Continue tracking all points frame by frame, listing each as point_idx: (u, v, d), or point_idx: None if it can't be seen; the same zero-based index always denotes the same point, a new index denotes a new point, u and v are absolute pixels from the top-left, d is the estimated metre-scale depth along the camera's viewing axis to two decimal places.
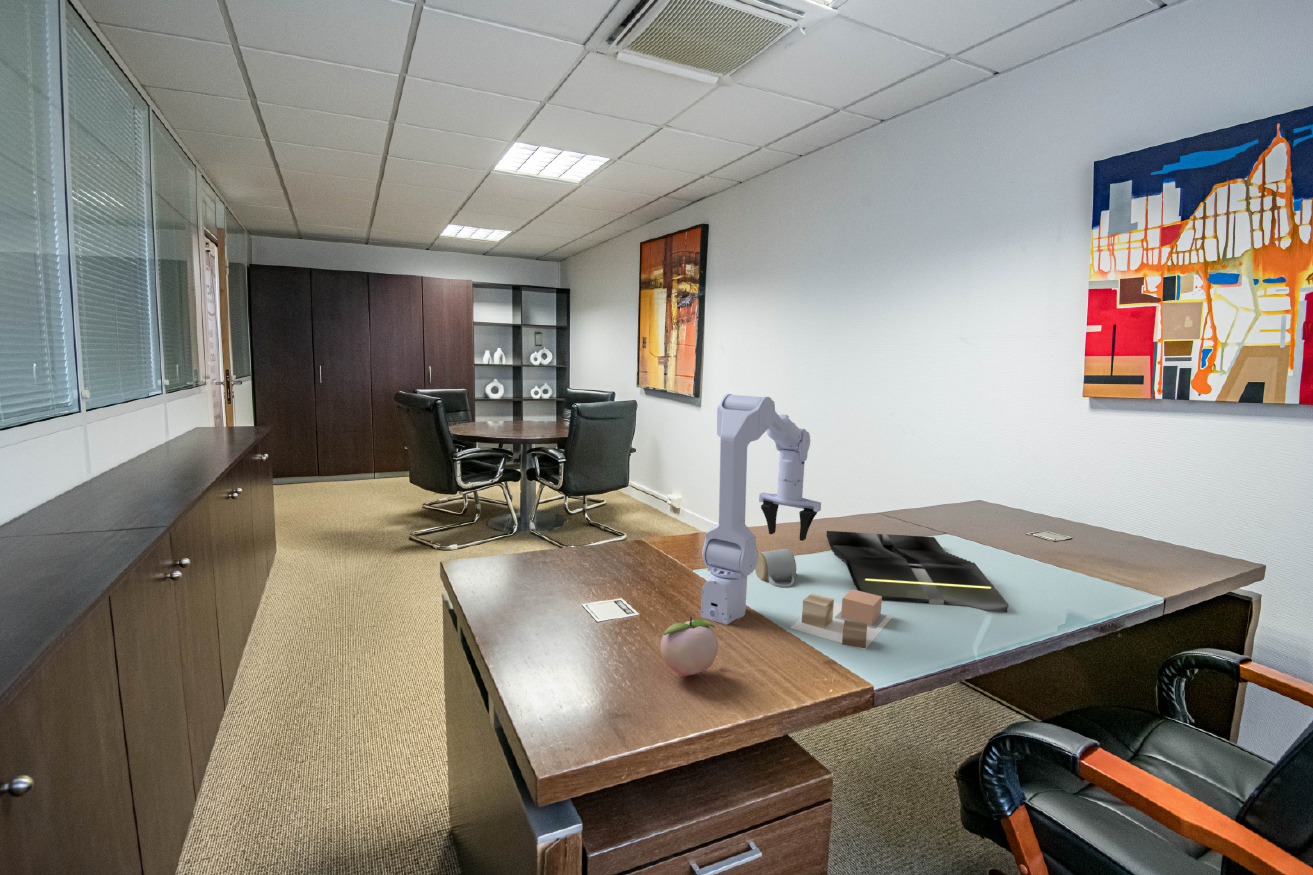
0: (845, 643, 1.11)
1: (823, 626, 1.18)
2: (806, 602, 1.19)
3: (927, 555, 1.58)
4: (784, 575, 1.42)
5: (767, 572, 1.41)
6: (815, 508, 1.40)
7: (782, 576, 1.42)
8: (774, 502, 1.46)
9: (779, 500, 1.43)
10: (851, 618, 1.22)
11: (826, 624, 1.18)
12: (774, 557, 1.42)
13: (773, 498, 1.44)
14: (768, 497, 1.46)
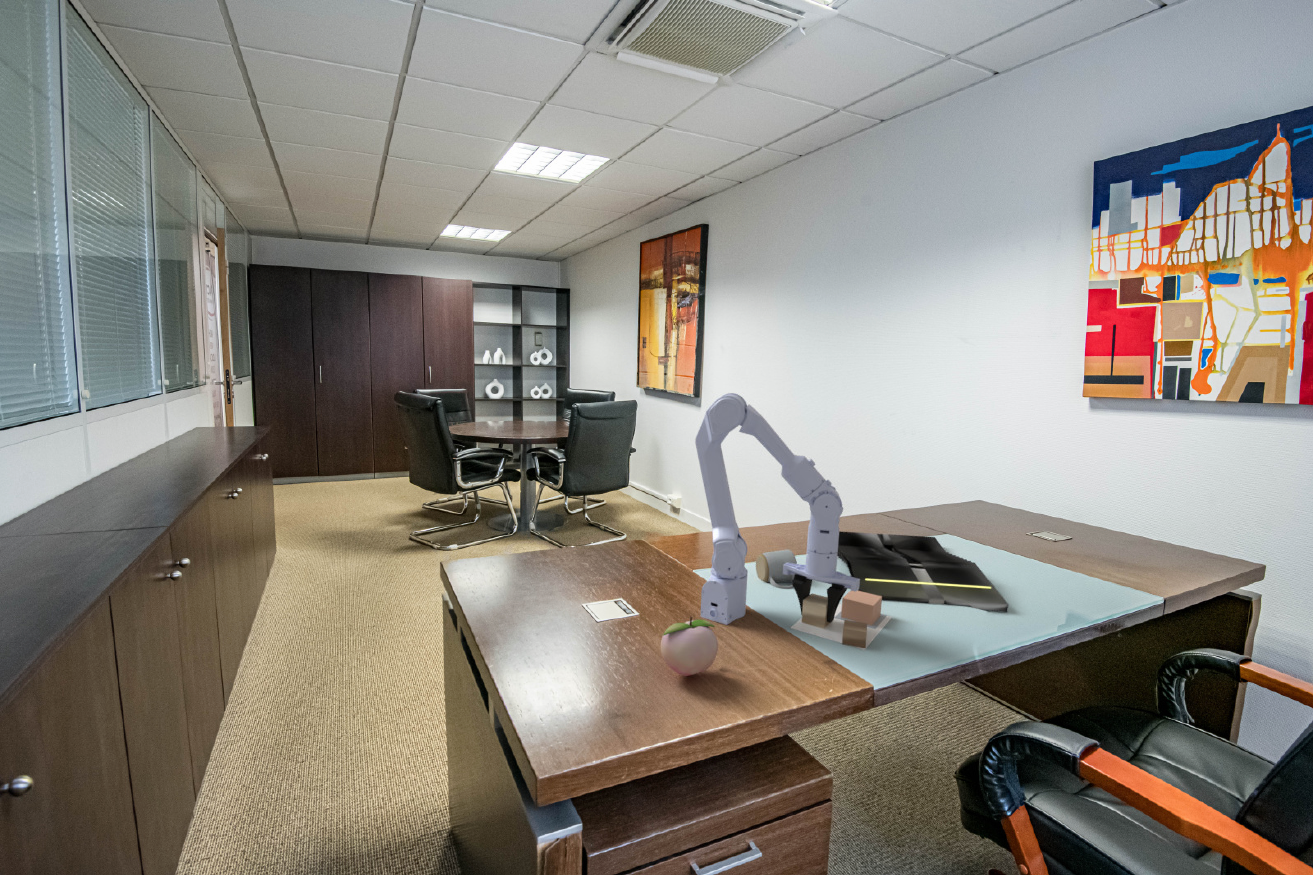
0: (845, 643, 1.11)
1: (823, 626, 1.18)
2: (806, 602, 1.19)
3: (927, 555, 1.58)
4: (785, 576, 1.41)
5: (768, 573, 1.40)
6: (853, 587, 1.15)
7: (783, 577, 1.41)
8: (802, 575, 1.22)
9: (808, 575, 1.18)
10: (851, 618, 1.22)
11: (826, 624, 1.18)
12: (775, 558, 1.41)
13: (801, 572, 1.20)
14: (794, 570, 1.21)
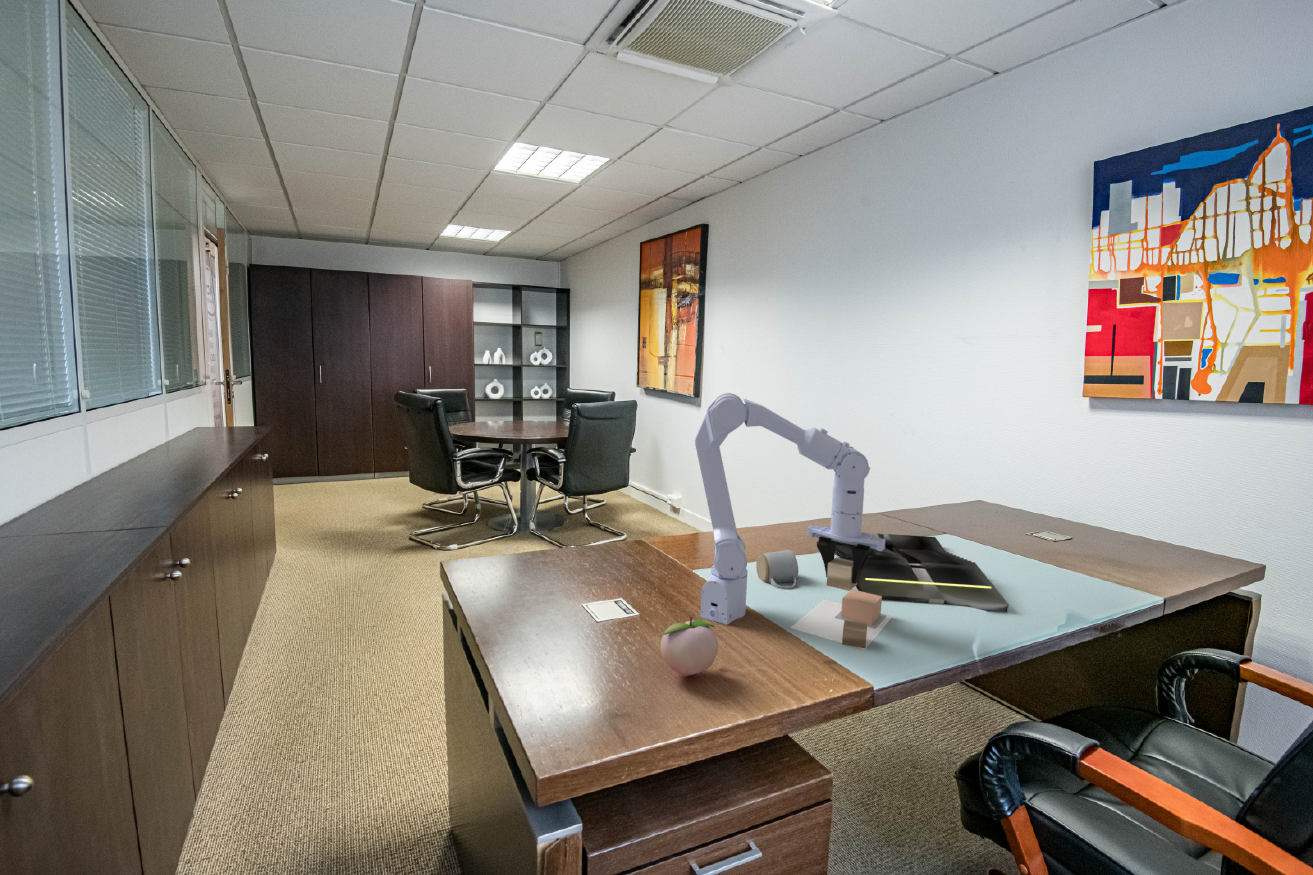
0: (845, 643, 1.11)
1: (848, 588, 1.18)
2: (831, 565, 1.20)
3: (928, 555, 1.58)
4: (786, 577, 1.41)
5: (768, 573, 1.40)
6: (878, 547, 1.16)
7: (784, 578, 1.41)
8: (826, 538, 1.22)
9: (833, 536, 1.19)
10: (851, 618, 1.22)
11: (851, 587, 1.19)
12: (776, 559, 1.41)
13: (826, 533, 1.20)
14: (819, 532, 1.21)
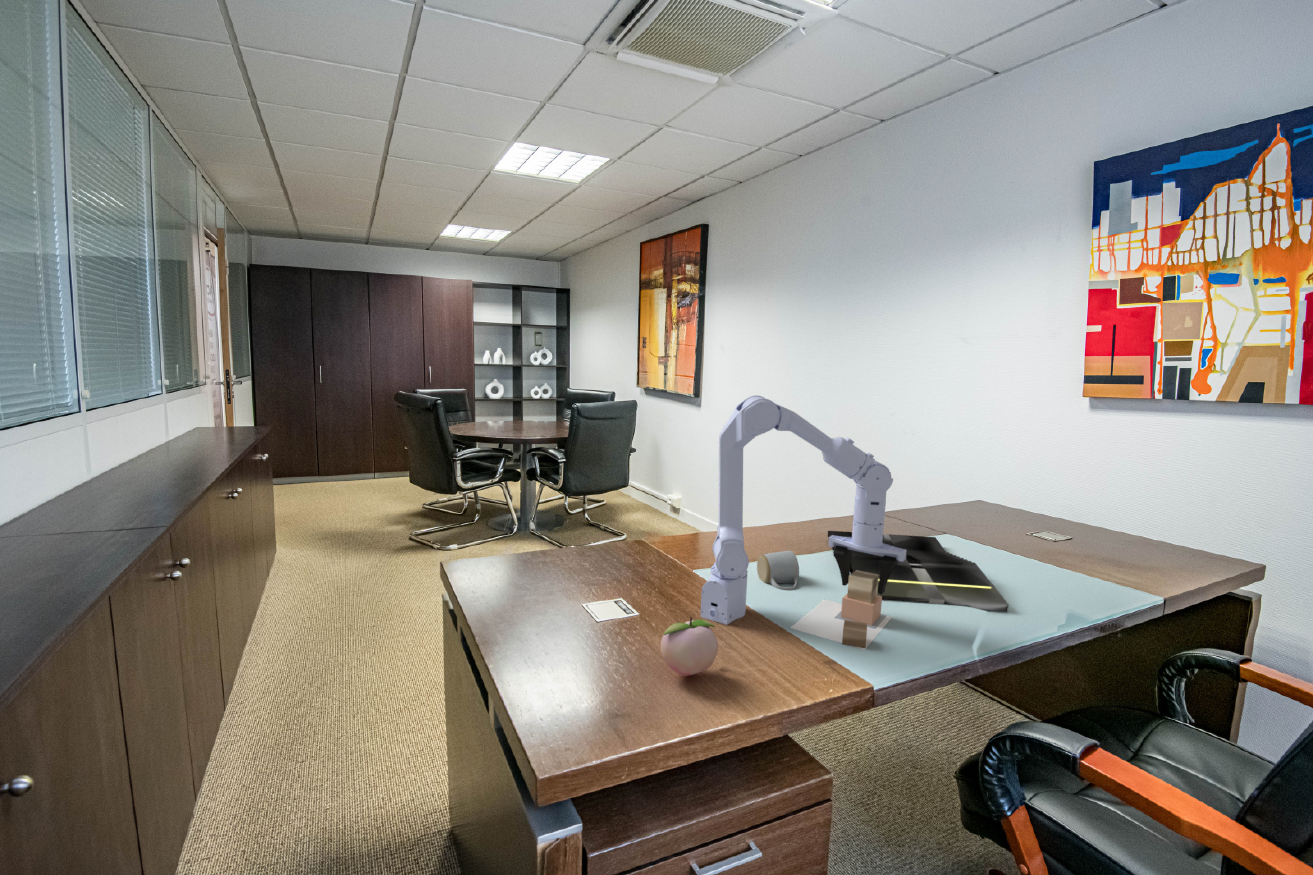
0: (845, 643, 1.11)
1: (869, 601, 1.20)
2: (852, 577, 1.22)
3: (928, 555, 1.58)
4: (787, 577, 1.40)
5: (769, 574, 1.39)
6: (900, 557, 1.18)
7: (785, 578, 1.40)
8: (847, 547, 1.24)
9: (855, 546, 1.21)
10: (851, 618, 1.22)
11: (871, 599, 1.21)
12: (777, 559, 1.40)
13: (847, 543, 1.22)
14: (840, 542, 1.23)
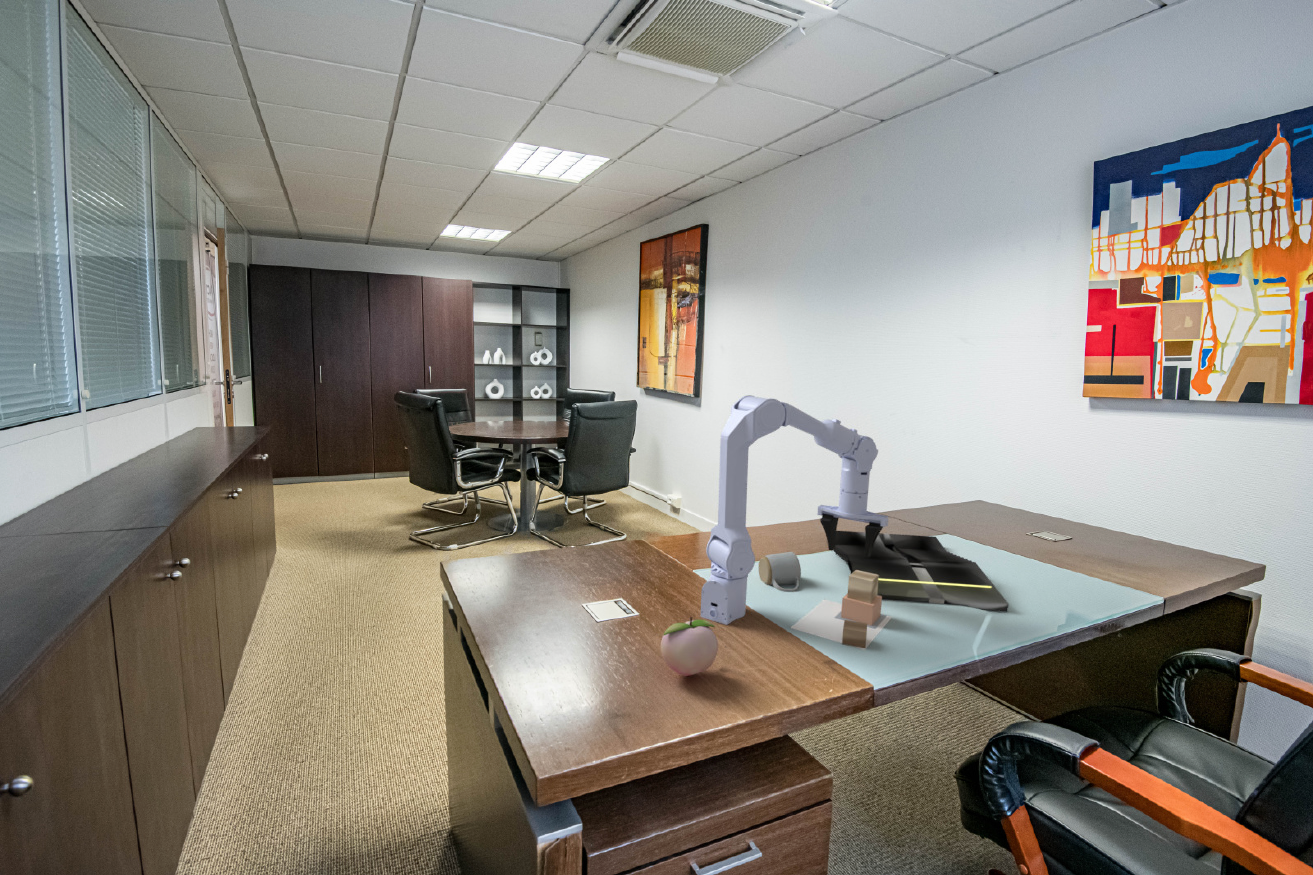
0: (845, 643, 1.11)
1: (869, 601, 1.20)
2: (852, 577, 1.22)
3: (928, 554, 1.58)
4: (788, 579, 1.39)
5: (771, 575, 1.38)
6: (882, 523, 1.28)
7: (786, 580, 1.39)
8: (835, 515, 1.34)
9: (842, 514, 1.31)
10: (851, 618, 1.22)
11: (871, 599, 1.21)
12: (778, 561, 1.40)
13: (834, 511, 1.32)
14: (828, 510, 1.34)
